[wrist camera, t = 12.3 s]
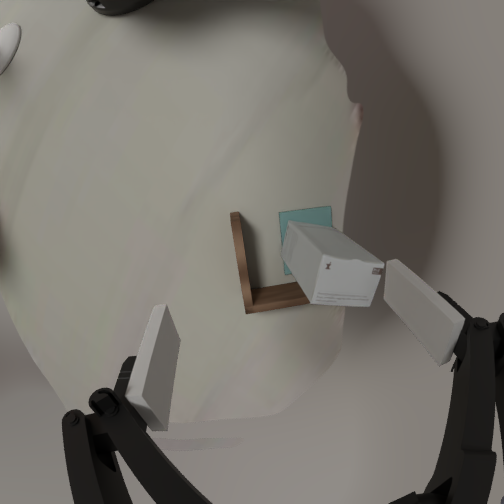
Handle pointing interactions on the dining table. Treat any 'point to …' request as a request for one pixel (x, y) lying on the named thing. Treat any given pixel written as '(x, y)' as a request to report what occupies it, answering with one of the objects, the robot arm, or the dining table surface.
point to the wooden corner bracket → (267, 295)
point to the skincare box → (330, 265)
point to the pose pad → (308, 216)
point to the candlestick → (8, 43)
